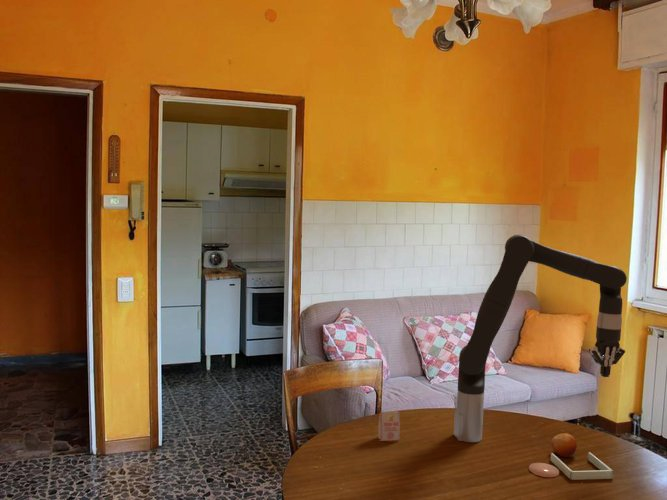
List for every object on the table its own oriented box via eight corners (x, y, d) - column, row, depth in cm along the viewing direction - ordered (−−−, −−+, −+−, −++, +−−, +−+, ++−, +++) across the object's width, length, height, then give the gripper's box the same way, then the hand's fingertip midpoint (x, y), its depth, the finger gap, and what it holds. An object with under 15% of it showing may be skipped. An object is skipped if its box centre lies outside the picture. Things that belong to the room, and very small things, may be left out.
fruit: (584, 456, 203) (572, 435, 203) (561, 466, 205) (550, 445, 205) (579, 447, 211) (568, 426, 211) (558, 456, 213) (546, 435, 213)
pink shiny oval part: (536, 477, 190) (536, 476, 190) (524, 464, 199) (524, 463, 199) (564, 477, 191) (564, 475, 191) (550, 464, 200) (551, 462, 200)
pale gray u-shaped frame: (570, 479, 189) (571, 471, 189) (550, 460, 203) (550, 453, 203) (612, 478, 191) (613, 470, 191) (589, 459, 204) (590, 452, 204)
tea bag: (378, 437, 218) (378, 410, 217) (396, 436, 219) (397, 409, 218) (380, 441, 214) (381, 413, 213) (399, 441, 215) (400, 413, 214)
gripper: (618, 323, 211) (614, 372, 213) (584, 323, 208) (580, 373, 210) (633, 328, 204) (629, 379, 206) (598, 328, 201) (594, 380, 203)
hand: (604, 376), depth 208 cm, fingers closed
